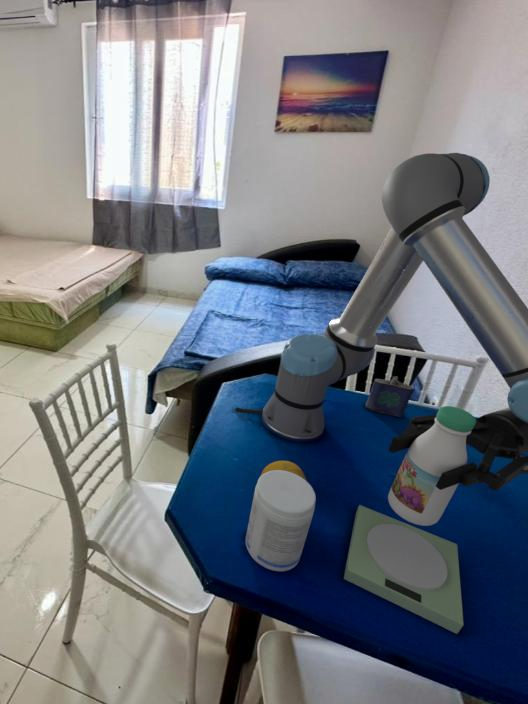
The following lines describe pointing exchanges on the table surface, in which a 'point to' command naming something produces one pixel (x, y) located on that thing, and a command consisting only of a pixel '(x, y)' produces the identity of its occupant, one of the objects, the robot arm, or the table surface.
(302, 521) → the supplement tub
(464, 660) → the table surface
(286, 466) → the fruit
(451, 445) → the milk bottle
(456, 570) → the scale
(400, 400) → the flask
